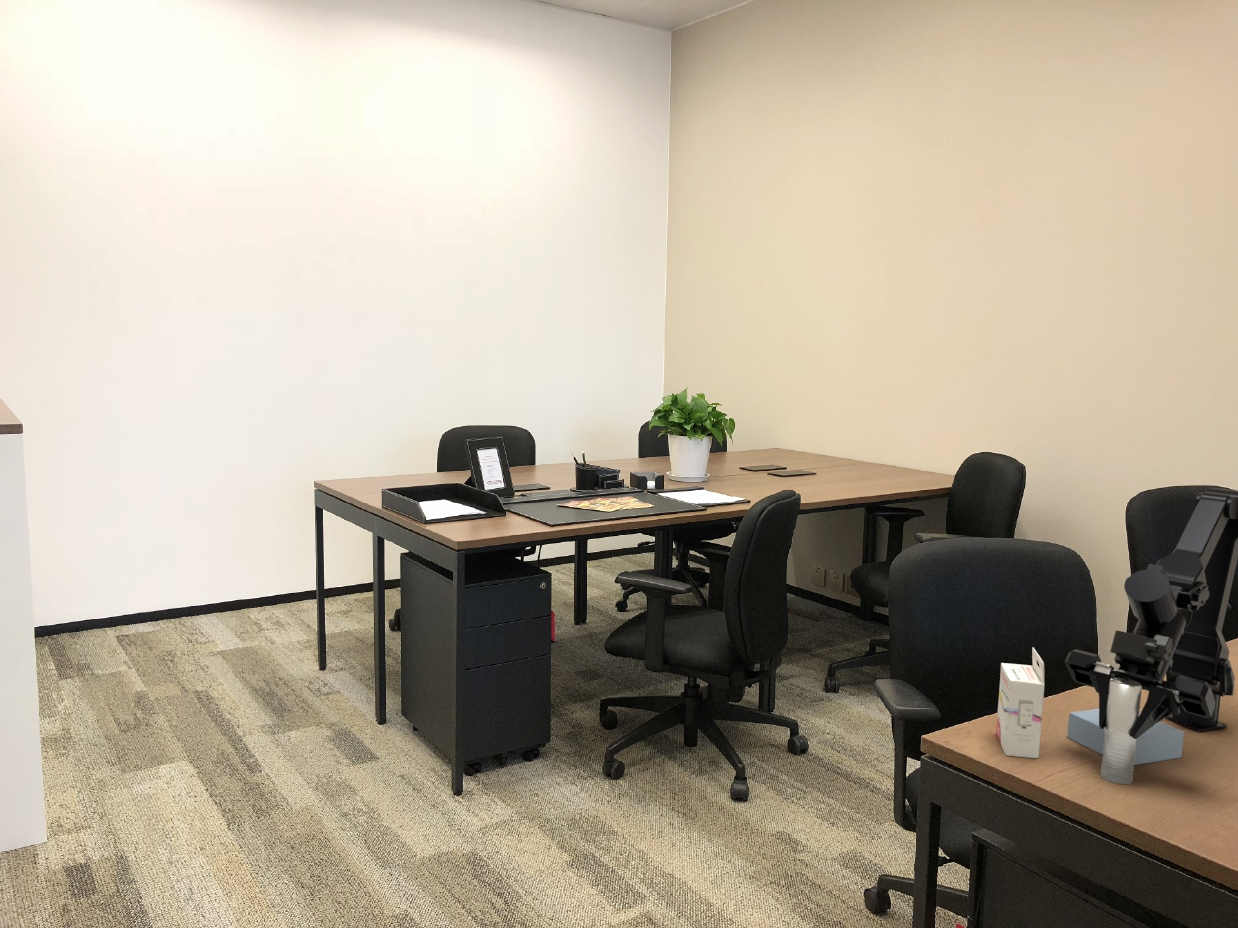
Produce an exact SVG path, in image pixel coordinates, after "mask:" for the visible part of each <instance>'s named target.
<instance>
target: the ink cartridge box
mask: <svg viewBox="0 0 1238 928" xmlns="http://www.w3.org/2000/svg"><path fill="white" fill-rule="evenodd" d="M1031 649H1032V650H1031V651H1032V652H1031V653H1032V654H1031V658H1032V660H1031V661H1032V665H1028V664H1017V663H1005V662H1001V663H1000V677H999V679H1000V680H999V690H998V691H999V692H998V703H997V704H998V705H997V713H996V714H997V717H996V729H995V730H996V731H995V735H996V736H997V739H998V741H999V743H1000V745H1001V748H1002V750H1003V752H1004V755H1005V756H1009V757H1016V758H1017V757H1019V758H1029V759H1031V758H1032V759H1039V758H1040V747H1041V737H1042V735H1041V732H1042V724H1043V722H1042V721H1043V710H1044V709H1043V708H1044V699H1045V698H1044V697H1045V696H1044V695H1045V694H1044V693H1045V662H1044V661H1043V659H1042V658H1041V656H1040V655H1039V653H1038V652H1037V650H1036V649H1035V647H1034V646H1033V647H1032V648H1031ZM1038 664H1039V665H1038Z"/></svg>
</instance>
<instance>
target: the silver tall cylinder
mask: <svg viewBox="0 0 1238 928" xmlns="http://www.w3.org/2000/svg"><path fill="white" fill-rule="evenodd" d="M1142 690H1143V689H1142V685H1141V684H1140V683H1139V682H1137V681H1134V680H1130V679H1125V678H1112V679H1110V683H1109V693H1108V704H1107V714H1106V725H1105V736H1104V746H1103V755H1102V759H1101V767H1100V768H1101V770H1100V777H1102V779H1104V780H1106V781H1107V782H1110V783H1113V784H1118V785H1130V784H1132V783H1133V780H1134V779H1133V778H1134V768H1135V765H1134V760H1135V750H1136V740H1137V739H1133V737H1132V732H1133V729H1134V726H1135V724H1136V722H1137V720H1138V718H1139V713H1140V709H1141V708H1140V707H1141V697H1142Z"/></svg>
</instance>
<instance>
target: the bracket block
mask: <svg viewBox="0 0 1238 928" xmlns="http://www.w3.org/2000/svg"><path fill="white" fill-rule="evenodd" d="M1140 714H1141V712H1139V716H1140ZM1067 725H1068V726H1067V736H1066V737H1067V738H1068V739H1070V740H1072V741H1074V742H1077V743H1078V744H1079V745H1082V746H1084V747H1085V748H1088V749H1090V750H1092V751H1094V752H1096V753H1098V754H1099V755H1100V754H1101V755H1102V756H1103V746H1104V736H1105V728H1104V729H1101V728H1100V726H1099V708H1094V709H1089V710H1088V709H1087V710H1078V711H1072V712H1070V711H1069V714H1068V723H1067ZM1184 735H1185V731H1183V730H1181V729H1178V728H1176V727H1174V726H1172V725H1169V724H1167V723H1164V722H1163V721H1159V722H1158V723H1156V724H1155V725H1154V726H1152V727H1151V728H1150V729H1148V730H1147V731H1146V732H1145V733H1143V734H1142V735H1141V736H1140V737H1138V738H1137V740H1136V750H1135V760H1134V766H1138V765H1142V764H1149V763H1155V762H1162V761H1167V760H1173V759H1180V758H1182V755H1183V745H1184Z"/></svg>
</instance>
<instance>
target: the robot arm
mask: <svg viewBox="0 0 1238 928" xmlns="http://www.w3.org/2000/svg"><path fill="white" fill-rule="evenodd" d="M1237 563H1238V489H1237V490H1235V489H1227V488H1219V487H1213V488H1212V489H1211V490H1210V491H1204V492H1198V493H1197V495H1196V497H1195V503H1194V509H1193V512H1192V514H1191V516H1190V517H1189V520H1188V522H1187V523H1186V526H1185V528H1184V530H1183V532H1182V534H1181V536H1180V538H1179V540H1178V543H1176V546H1175V548H1174V550H1173V552H1172V553H1170V554H1168V555H1167V556H1164V557H1162V558H1160V559H1159V560H1158V561H1157V562H1156V564H1151V563H1148V565H1147V567H1146V569H1142V570H1138V571H1136V572H1134V573H1132V574H1131V575H1129V577H1127V578H1126V579H1125V581H1124V584H1123V587H1124V591H1125V595H1126V596H1127V599H1128V603H1129V604H1130V608H1131V610H1132V614H1133V615H1134V617H1135V618H1136V619H1137V620H1138V621H1137V623H1136V626H1135V627H1134V630H1133V632H1127V631H1122V630H1115V632H1114V634H1113V640H1112V643H1111V648H1110V649H1109V650H1110V651H1109V652H1110V653H1112V654H1115V656H1114V662H1115V664H1117V665H1119V667H1118V668H1116V667H1114V666H1112V665H1111V664H1108V663H1104V662H1102V659H1101V657H1100V655H1099V654H1098V653H1097V654H1096V653H1091V652H1089V651H1085V650H1080V649H1077V648H1076V649H1073V650H1071V651H1069V652H1068V653H1067V656H1066V657H1065V661H1064V664H1065V666H1066V668H1067V670H1068V673H1069V675H1070V677H1071V679H1072V681H1074V682H1075V683H1077V684H1078V685H1079V684H1080V685H1084V686H1086V687H1091V688H1093V689H1094V690H1095V692H1096V693H1097V694H1098V709H1099V726H1100V728H1101V729H1104V728H1105V725H1106V714H1107V704H1108V693H1109V683H1110V679H1112V678H1125V679H1130V680H1134V681H1137V682H1139V683H1140V684H1141V685H1142V689H1141V690H1144V691H1148V694H1147V699H1146V702H1145V704H1144V706H1143V708H1142V709H1141V711H1140V713H1141V714H1140V716H1139V718H1138V720H1137V722H1136V724H1135V726H1134V729H1133V732H1132V737H1133V739H1137V738H1138V737H1140V736H1141V735H1142V734H1143V733H1145V732H1146V731H1147V730H1148V729H1150V728H1151V727H1152V726H1154V725H1155V724H1156V723H1158V722H1159V721H1160V722H1162V720H1164V719H1168V720H1169V721H1172V722H1175V723H1177V724H1180V725H1182V726H1184V727H1187V728H1188V729H1191V730H1194V731H1196V732H1206V731H1212V730H1219V729H1227V727H1228V725H1227V724H1226V723H1224V722H1221V721H1219V717H1220V716H1219V713H1220V707H1221V706H1220V705H1221V697H1222V698H1223V697H1226V696H1234V691H1235V690H1234V689H1235V681H1236V679H1235V675H1234V670H1233V668H1232V665H1231V661H1230V659H1229V657H1230V656H1229V655H1230V649H1229V647H1228V645H1227V642H1226V640H1225V638H1224V635H1223V633H1222V631H1223V628H1224V623H1225V617H1226V612H1227V609H1228V603H1229V600H1230V595H1231V590H1232V585H1233V581H1234V576H1235V573H1236V572H1235V571H1236V567H1237ZM1179 610H1182V611H1187V612H1191V614H1190V620H1189V623H1188V624H1187V625H1186V619H1185V617H1184V614H1183V613H1182V612H1181V611H1179ZM1165 678H1166V680H1165Z"/></svg>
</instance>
